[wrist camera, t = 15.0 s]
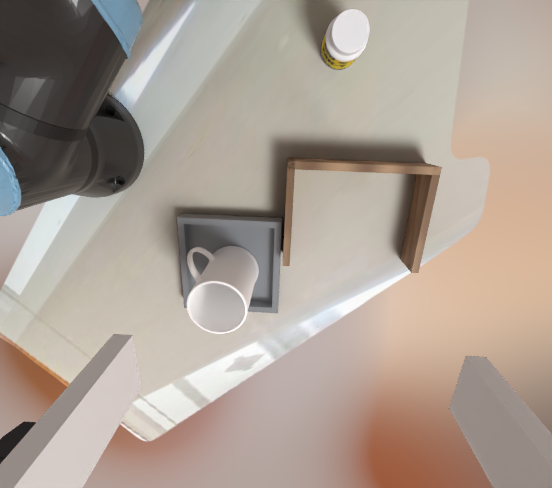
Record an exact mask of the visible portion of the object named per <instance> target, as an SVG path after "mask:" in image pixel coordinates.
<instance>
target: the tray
mask: <svg viewBox="0 0 552 488" xmlns="http://www.w3.org/2000/svg"><path fill="white" fill-rule="evenodd" d="M177 227H178V239H179V251H180V262H181V274H182V286H183V298H184V308H187V298H188V296H189V293H190V292H191V290H192V289H193V287H194V285H195V284H196V281H195V279H194V277H193V276H192V274H191V272H190V270H189V267H188V263H187V256H188V253H189V251H190V250H191V249H193V248H195V247H201V248H204V249H206V250H207V251H209V252H210V253H212V254H213V253H214V252H216V251H217V250H218V249H220V248H223V247H226V246H237V247H241V248H243V249H245V250H247V251H248V252H250V253H251V254H252V255H253V256H254V258H255V259H256V261H257V264H258V268H259V274H258V278H257V280H256V282H255V284H254V288H253V292H252V296H251V300H250V304H249V308H248V311H249V312H266V313H278V302H279V279H280V255H281V232H282V218H274V217H252V216H231V215H209V214H188V213H182V214H181V215H179V216H178V217H177ZM192 257H193V262H194V265H195V267H196V269H197V271H198V273H199V274H200V275H201V274H202V273H203V271H204V270H205V268H206V267H207V265H208V263H209V259H208V258H207V257H206V256H205V255H203V254H202V253H200V252H193V256H192Z"/></svg>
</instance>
